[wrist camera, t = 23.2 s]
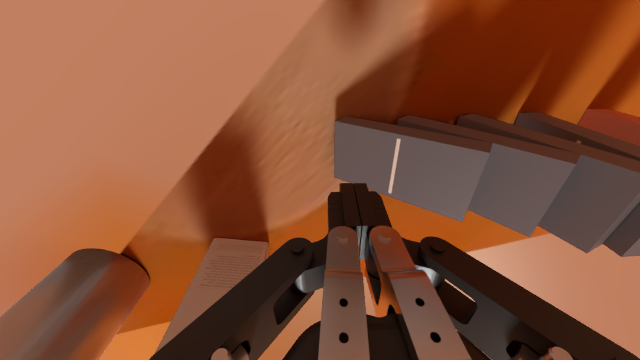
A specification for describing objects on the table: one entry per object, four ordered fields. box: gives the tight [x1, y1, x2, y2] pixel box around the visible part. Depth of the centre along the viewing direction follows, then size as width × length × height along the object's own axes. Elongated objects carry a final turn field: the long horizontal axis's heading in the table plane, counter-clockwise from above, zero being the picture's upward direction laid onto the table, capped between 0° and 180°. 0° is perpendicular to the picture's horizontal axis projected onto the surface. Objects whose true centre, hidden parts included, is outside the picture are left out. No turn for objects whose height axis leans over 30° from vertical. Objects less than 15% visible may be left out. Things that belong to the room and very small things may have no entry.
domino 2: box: [397, 115, 581, 237], centre depth 16 cm, size 2×5×10 cm
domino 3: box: [457, 113, 640, 253], centre depth 16 cm, size 2×5×10 cm, turn 0°
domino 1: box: [334, 116, 493, 222], centre depth 17 cm, size 2×5×10 cm
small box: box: [155, 238, 269, 353], centre depth 23 cm, size 8×6×13 cm
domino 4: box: [514, 112, 640, 257], centre depth 16 cm, size 2×5×10 cm, turn 1°
